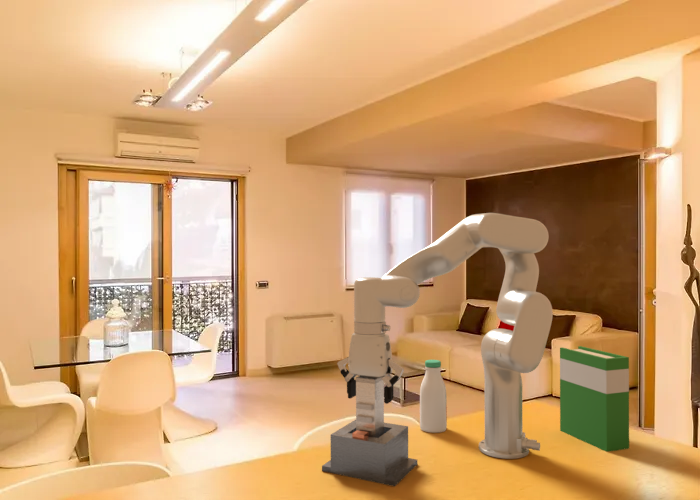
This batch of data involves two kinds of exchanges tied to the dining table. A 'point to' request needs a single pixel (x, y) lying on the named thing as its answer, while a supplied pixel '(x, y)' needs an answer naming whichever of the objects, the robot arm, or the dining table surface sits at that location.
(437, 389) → the milk bottle
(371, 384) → the column
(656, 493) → the dining table surface
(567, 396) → the hardback book
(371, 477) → the housing
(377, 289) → the robot arm
